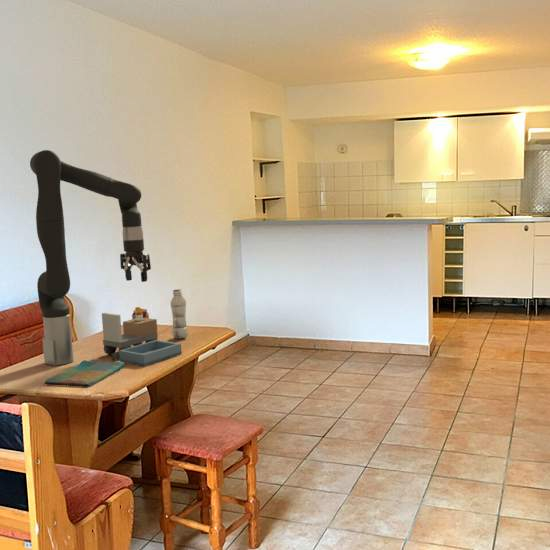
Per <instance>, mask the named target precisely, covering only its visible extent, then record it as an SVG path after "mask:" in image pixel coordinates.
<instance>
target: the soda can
mask: <svg viewBox="0 0 550 550" xmlns="http://www.w3.org/2000/svg"><path fill="white" fill-rule="evenodd" d="M142 310H143V318H150V314H149V312H148V309H147V308H145V309H144V308H142ZM132 312H133V313H132V315H131V318H132V319H136V313H135V309H134V310H133V311H132ZM132 319H131V320H132Z"/></svg>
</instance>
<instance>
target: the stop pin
mask: <svg viewBox="0 0 550 550" xmlns="http://www.w3.org/2000/svg"><path fill="white" fill-rule="evenodd" d="M142 309H143V307H142V306H137V307H135V308H134V310H135V313H136V322H141V321H143V310H142Z"/></svg>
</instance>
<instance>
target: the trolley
mask: <svg viewBox="0 0 550 550" xmlns="http://www.w3.org/2000/svg"><path fill="white" fill-rule="evenodd" d="M101 321H102V322H101V323H102V335H103V336H102V337H103V339H102V344H103V351H104V353H105V354H107V355H112V360H113V359H114V361H120V357H119V351H120V350H123V349H127V348H130V347H134V346H137V345H141V344H143V342H145V343H147V342H151V341H154V340H158V337H159V335H158V323H157V321H158V320H157V319H156V318H150V317H149V318H143V321H141V322H136V319H128V320H125V321H122V323H121V314H117V313H110V312H109V313H108V312H102V313H101ZM122 329H123V333H122ZM117 348H118V351H117Z"/></svg>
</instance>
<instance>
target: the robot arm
mask: <svg viewBox="0 0 550 550" xmlns="http://www.w3.org/2000/svg"><path fill="white" fill-rule="evenodd" d="M29 164H30V165H29V166H30V169H31V171H32V173H34V175H35V176H36V181H37V182H36V183H37V189H38V190H37V191H38V193H37V202H36V210H35V211H36V212H35V221H36V222H35V223H36V233H37V239H38V241H39V243H40V244H39V245H40V247H41V248H42V249H41V250H42V252H43V254H44V259H45V271H44V272H42V273H41V274H40V275H39V277H38V279H37V285H36V286H37V294H38V295H37V297H38V303H39V307H40V310H41V314H42V322H43V334H44V335H43V336H44V337H42V348H43V349H42V350H43V359H44V360H43V361H44V364H45V365H50V366H53V367H54V366H60V365H67V364H69V363H70V364H71V363H72V362H74V360H75V359H74V349H73V347H74V346H73V334H72V326H71V325H72V324H71V314H70V312H71V310H70V306H69V305H68V304H67V302H66V300H65V296H66V295H67V294H68V293H69V291H70V289H71V279H70V277H71V276H70V272H69V268H68V262H67V261H68V260H67V251H66V250H67V248H66V246H67V245H66V236H65V235H66V234H65V233H66V231H65V230H66V229H65V218H64V217H65V216H64V208H63V201H62V195H61V182H65V183H68V184H72V185H75V186H77V187H80V188H82V189H84V190H87V191H90V192H93V193H94V194H99V195H101V196H104V197H108V198H114V199H117V200H118V205H119V210H120V213H121V222H122V224H121V225H122V243H123V253H120V254H119V259H120V260H119V261H120V269H121V270H123V271H124V273H125V274H124V275H125V279H126V281H132V280H133V276H132V267H133V266H136V267H137V268H138V269H139V271H140V280H141V282H142V283H144V282H147V281H148V271H150V270H152V265H151V257H150V254H149V253H145V254H144V252H143V251H144V250H145V243H144V242H145V241H144V231H143V225H142V215H141V212H140V211H139V210H138V203H139V202H140V201H141V199H142V192H141V190H140V189H139V187H138V186H136V185H134V184H131V183H128V182H124V181H121V180H116V179H115V178H112V177H110V176H107V175H104V174H101V173H99V172H96V171H93V170H89V169H84V168H80V167H77V166H73V165H71V164H68V163H66V162H64V161H62V160H61V159H60V157H59V156H58V155H57V153H55V152H54V151H52V150H49V149H47V150H46V149H44V150H41V151H38V152H36V153H35V154H33V155H32V157H31V158H30V161H29Z"/></svg>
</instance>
